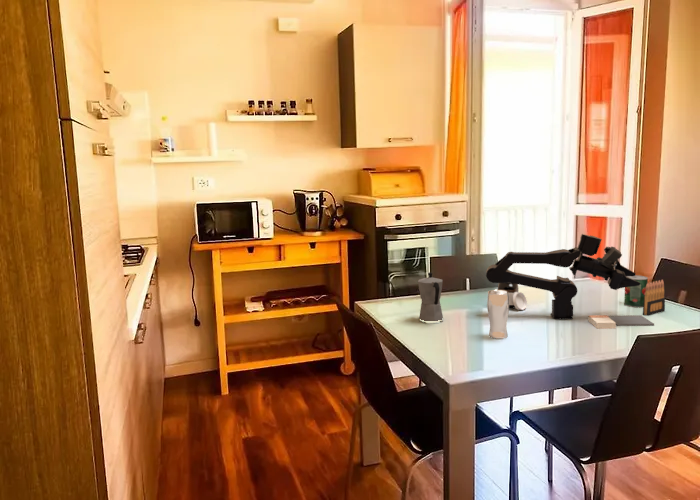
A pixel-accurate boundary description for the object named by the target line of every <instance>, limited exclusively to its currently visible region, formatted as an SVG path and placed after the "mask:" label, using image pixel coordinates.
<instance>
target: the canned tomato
mask: <svg viewBox="0 0 700 500" xmlns="http://www.w3.org/2000/svg"><path fill="white" fill-rule="evenodd" d="M627 277H629V278H631V279H633V280H636V281H638V282H640V285H639V286H632V287H624V298H623V299H624V300H623V301H624V302H623V303H624V306H626V307H630V308H638V307H639V308H643V303H644V301H645V292H646V285H647V283H649V281H648V279H649V278H648V277H647V276H643V275H636V274H635V276H627Z"/></svg>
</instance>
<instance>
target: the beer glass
mask: <svg viewBox="0 0 700 500" xmlns="http://www.w3.org/2000/svg"><path fill="white" fill-rule="evenodd" d="M486 301H487V302H486V305H487V308H486V309H487V315H488V320H489V331H488V337H489V336H490V337H489V338H491V337H492V338H491V339H494V338H496V339H495V340H504V339H503V338H505V339H507V338H508V335H509V334H508V327H507V325H508V324H507V323H508V317H509V311H510V309H509V292H508V291H505V290H498V289H491V290H488V291H487V300H486Z"/></svg>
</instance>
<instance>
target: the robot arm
mask: <svg viewBox="0 0 700 500" xmlns="http://www.w3.org/2000/svg"><path fill="white" fill-rule="evenodd" d="M602 241H603V239H602V238H600V237H598V236H594V235H591V234H590V235H588V234H583V233H582V234H581V235H580V240H579V242H578V244H577V245H578V246H576V247H573V248H572V247H571V248H570V249H563V248H562V249H557V250H551V251H546V252H527V251H526V252H523V251H522V252H520V251H519V252H516V251H515V252H514V251H508V252H507V253H506V254H505V255H504V256H503V257H502V258H500V259H499V260H498V261H496V263H495V264H490V265H489V266H488V267H487V268H486V275H485V276H486V279H487V281H488V282H490V283H493V284H499V283H514V284H518V286H519V285H520V286H524V287H529V288H533V289H539V290H543V291H549V292H551V293H552V296H553V298H554V299H552V300H551V313H550V316H551V317H552V318H553V319H554V320H573V319H574V317H573V316H574V305H573V301H572V299H573V298H575V297H576V296H577V294H578V287H577V286H576V284H575V283H574V282H573V280H571V279H570V278H569V277H561V276H559V275H556V279H549V278H544V277H539V276H535V275H530V274H525V273H520V272H515V271H511V270H510V269H509V268H511V267H512V265H513V264H532V265H533V264H542V265H543V264H544V265H551V266H555V267H560V268H569V270H570V271H571V273H572V275H573V276H576V274H577V271H578V272H583V273H586V274H589V275H591V276H592V277H593V278H597V277H599V278H602V279H604V281H607V284H608V286H609V288H610V289H611V290H615V291H617V290H620V289H623V288H624V289H625V287H632V286H639V285H640V282H638V281H636V280H633V279H631V278H629V277H627V276H635V275H636V272H634V271H632V270H630V269H628V267H625V266H624V265H622V264H621V263H620V261H619V259H621V257H622V256H623V254H622V252H621V251H620V250H619V249H618V248H616V246H606V247H605V248H604V249H603V250H604V254H603V256H602V257H596V258H594V257H593V256H595V255H597V254H598V251H599V248H600V247H601V243H602Z"/></svg>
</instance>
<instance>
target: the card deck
mask: <svg viewBox="0 0 700 500" xmlns="http://www.w3.org/2000/svg"><path fill="white" fill-rule="evenodd" d="M608 316H609V315H605V314H603V315H602V314H601V315H599V314H598V315H588V322H589V323H590V324H591V325H593V326H594V328H596V329H599V330H601V329H616V327H617V325H616V323H615V322H614V321H613V320H612V319H610V318H609V317H608Z"/></svg>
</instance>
